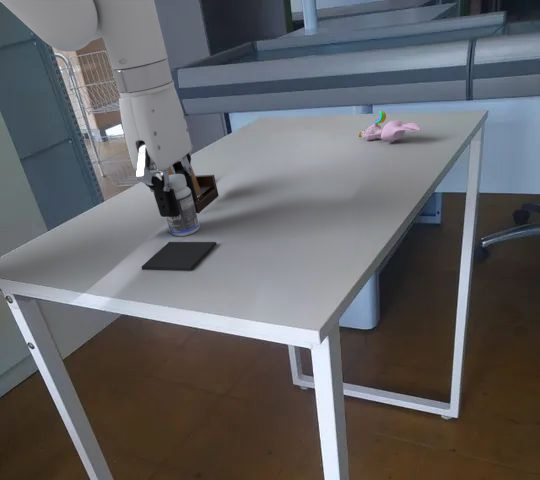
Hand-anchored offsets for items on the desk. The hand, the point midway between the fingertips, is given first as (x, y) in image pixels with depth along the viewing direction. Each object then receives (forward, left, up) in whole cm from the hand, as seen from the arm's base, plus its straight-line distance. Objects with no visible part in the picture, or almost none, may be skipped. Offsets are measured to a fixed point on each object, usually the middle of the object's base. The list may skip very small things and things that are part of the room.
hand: (179, 207), depth 84 cm
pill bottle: (0, 0, -4) cm, 4 cm away
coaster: (+4, -9, -4) cm, 11 cm away
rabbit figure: (+24, +41, -4) cm, 48 cm away
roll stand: (-5, +11, -4) cm, 13 cm away
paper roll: (-9, +11, +3) cm, 15 cm away
